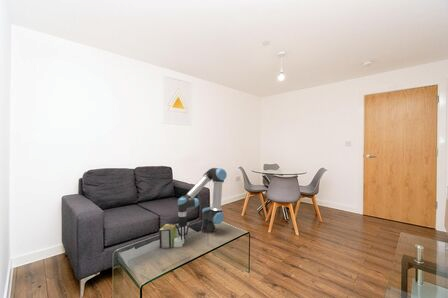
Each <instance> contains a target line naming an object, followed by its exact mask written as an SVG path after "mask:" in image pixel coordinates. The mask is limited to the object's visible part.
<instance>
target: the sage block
mask: <svg viewBox="0 0 448 298" xmlns="http://www.w3.org/2000/svg"><path fill="white" fill-rule="evenodd" d="M183 245H184V244H182V240H181V238H178V237H177V238H175V239H174V245H173V247H174V248H182V247H183Z"/></svg>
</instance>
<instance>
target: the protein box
mask: <svg viewBox="0 0 448 298" xmlns="http://www.w3.org/2000/svg"><path fill="white" fill-rule="evenodd" d="M176 224H177V223H165V224H164V225H163V226H162V227H160V229H159V230H158V231H159V233H158V234H159V249H172V248H173V247H174V239H175V238H178V231H177V227H176V226H175V225H176Z"/></svg>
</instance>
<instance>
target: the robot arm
mask: <svg viewBox="0 0 448 298" xmlns="http://www.w3.org/2000/svg"><path fill="white" fill-rule="evenodd" d="M227 176H228V174H227V172H226V170H225V169H224V168H221V167H219V168H218V167H211V168H209V169H208V170H207V171H206V172H205V173H203V175H202V177H201V178H200V179H199V180H198V182H196V184H195V185H194V186H193V187H191V189H190V190H189V191H188V192H187V193H186V194H185V195H183V196H181V197H179V198H177V199H178V200H177V216H178V217H177V219H178V220H177V223H175V224H176V225H175V226H176V227H177V235H178V236H181V240H182V244H183V245H184V244H185V241H184V239H185V240H186V236H188V233H189V232H188V231H189V228H190V225H191V223H190V222H189V221H188V209H190V208H195V207H198V206H199V205H200V201H199V198H196V195H198V194H199V192H200V191H202V190H203V188H205V186H206V185H207V184H208V183H210V182H211V181H212V183H213V191H212V206H209V207H203V209H201V213H202V214H201V215H202V224H201V228H200V231H201V232H202V233H204V232H211V233H213V232H212V231H214V230H215V229H216V230H217V228H216V225H220V224H222V223H223V221H224V220H225V219H224V218H225V215H224V213H223V208H222V195H223V194H222V193H223V190H222V189H223V183H224V182H225V179H226V178H227ZM186 226H187V228H186ZM179 227H180V228H179ZM216 230H215V231H216ZM215 231H214V232H215Z"/></svg>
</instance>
